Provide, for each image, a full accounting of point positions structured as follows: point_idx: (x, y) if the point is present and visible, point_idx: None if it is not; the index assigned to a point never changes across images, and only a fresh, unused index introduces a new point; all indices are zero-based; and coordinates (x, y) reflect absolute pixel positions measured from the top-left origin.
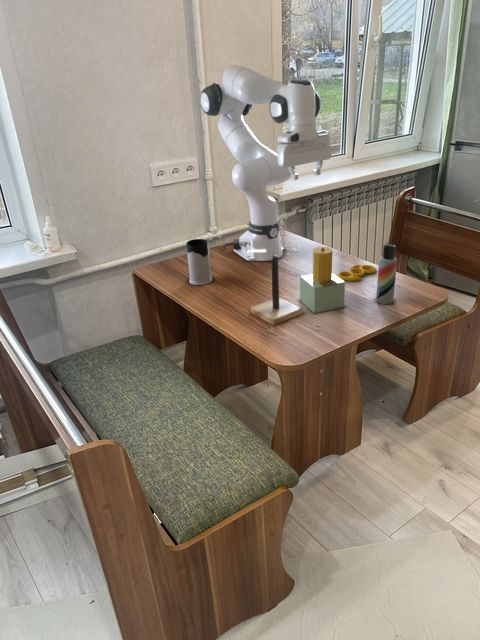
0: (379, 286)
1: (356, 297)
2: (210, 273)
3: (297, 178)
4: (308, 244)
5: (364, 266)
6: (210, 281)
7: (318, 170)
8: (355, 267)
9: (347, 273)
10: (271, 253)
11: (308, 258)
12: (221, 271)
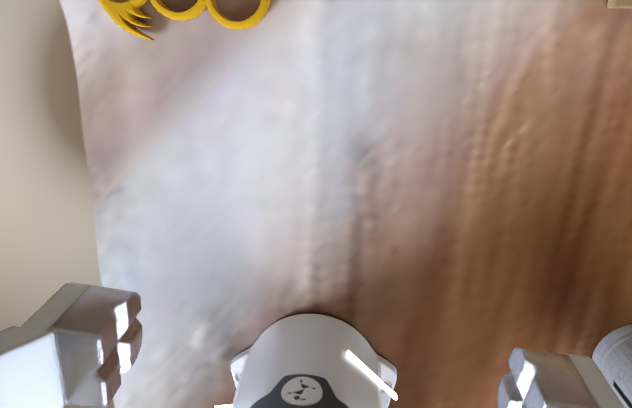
0: None
1: None
2: (619, 354)
3: (533, 353)
4: None
5: (114, 2)
6: (625, 327)
7: (69, 326)
8: (148, 26)
9: (214, 6)
10: (327, 335)
11: (216, 241)
12: None
